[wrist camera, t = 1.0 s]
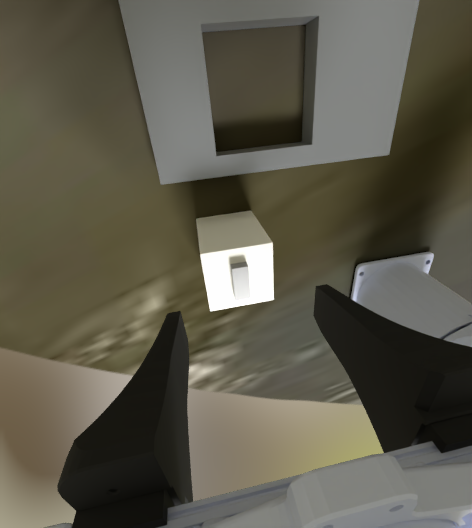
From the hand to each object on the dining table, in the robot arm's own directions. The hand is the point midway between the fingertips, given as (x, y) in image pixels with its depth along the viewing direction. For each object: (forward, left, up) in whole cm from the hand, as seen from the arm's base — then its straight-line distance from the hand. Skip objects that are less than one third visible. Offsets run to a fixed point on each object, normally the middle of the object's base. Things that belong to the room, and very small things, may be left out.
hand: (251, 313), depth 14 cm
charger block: (0, 0, -10) cm, 10 cm away
